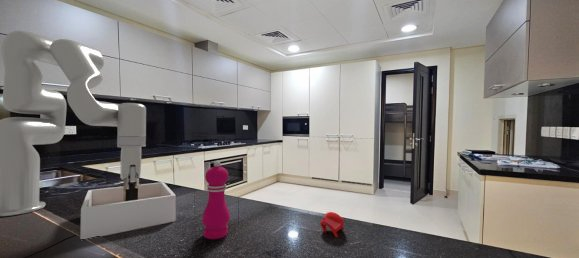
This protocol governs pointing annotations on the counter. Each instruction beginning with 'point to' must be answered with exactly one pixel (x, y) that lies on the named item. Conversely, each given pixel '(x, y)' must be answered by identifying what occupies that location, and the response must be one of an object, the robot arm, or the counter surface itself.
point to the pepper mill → (216, 203)
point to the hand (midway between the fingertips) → (131, 199)
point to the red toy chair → (332, 222)
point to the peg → (126, 186)
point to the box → (126, 210)
